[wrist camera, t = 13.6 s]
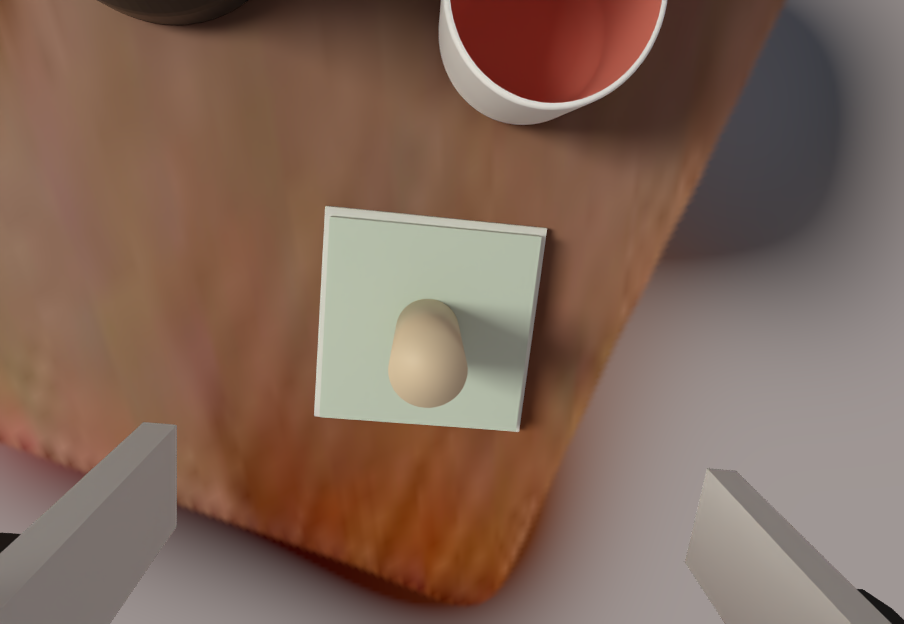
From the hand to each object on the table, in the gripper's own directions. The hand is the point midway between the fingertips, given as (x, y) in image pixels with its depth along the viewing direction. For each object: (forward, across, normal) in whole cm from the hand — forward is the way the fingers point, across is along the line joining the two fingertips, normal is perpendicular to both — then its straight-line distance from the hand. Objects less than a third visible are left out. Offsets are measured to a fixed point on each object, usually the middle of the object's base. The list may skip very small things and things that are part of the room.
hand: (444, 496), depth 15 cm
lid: (+24, 0, -2) cm, 24 cm away
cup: (+25, +4, +16) cm, 30 cm away
